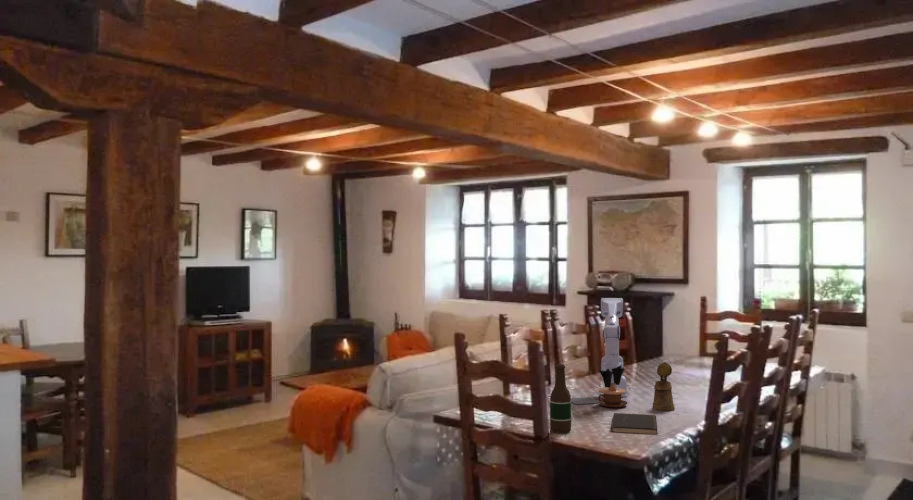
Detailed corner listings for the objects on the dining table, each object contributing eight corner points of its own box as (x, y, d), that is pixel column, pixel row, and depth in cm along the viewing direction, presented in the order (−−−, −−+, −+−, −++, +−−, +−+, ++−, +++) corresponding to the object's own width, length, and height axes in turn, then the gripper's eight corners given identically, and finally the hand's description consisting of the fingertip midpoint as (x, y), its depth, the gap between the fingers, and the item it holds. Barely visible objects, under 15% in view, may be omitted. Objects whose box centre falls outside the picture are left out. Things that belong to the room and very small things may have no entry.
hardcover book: (611, 433, 257) (611, 426, 257) (613, 418, 279) (613, 412, 279) (657, 435, 253) (657, 429, 253) (656, 420, 275) (656, 414, 275)
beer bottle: (547, 428, 262) (547, 363, 262) (568, 428, 262) (568, 363, 263) (552, 434, 254) (552, 366, 254) (573, 433, 255) (573, 366, 255)
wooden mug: (676, 405, 301) (676, 362, 301) (673, 411, 289) (673, 367, 289) (654, 403, 304) (654, 361, 304) (651, 410, 292) (650, 366, 292)
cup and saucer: (610, 410, 292) (610, 395, 292) (592, 405, 303) (592, 390, 303) (633, 407, 298) (633, 392, 298) (614, 402, 308) (614, 388, 308)
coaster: (589, 397, 317) (589, 396, 317) (601, 403, 305) (601, 402, 305) (564, 399, 314) (564, 398, 314) (575, 405, 302) (575, 404, 302)
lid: (607, 388, 308) (607, 380, 308) (630, 391, 300) (630, 383, 300) (593, 392, 300) (593, 383, 300) (616, 395, 292) (616, 386, 292)
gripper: (612, 351, 308) (612, 382, 308) (594, 354, 298) (594, 387, 298) (627, 352, 304) (627, 384, 303) (609, 356, 293) (609, 389, 293)
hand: (612, 385), depth 300 cm, fingers open, 7 cm apart
